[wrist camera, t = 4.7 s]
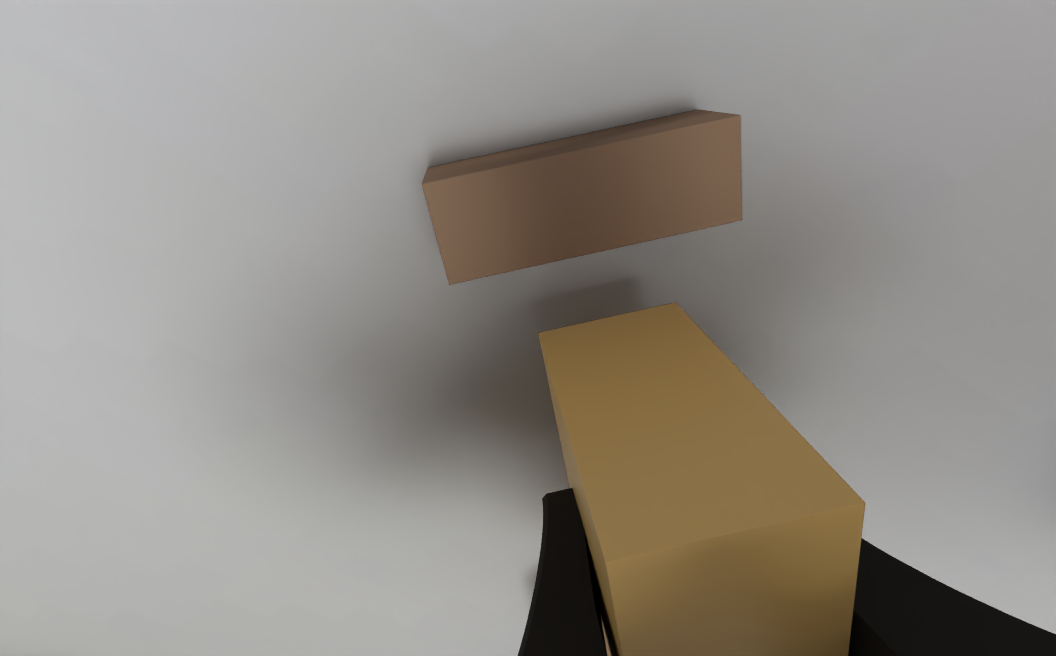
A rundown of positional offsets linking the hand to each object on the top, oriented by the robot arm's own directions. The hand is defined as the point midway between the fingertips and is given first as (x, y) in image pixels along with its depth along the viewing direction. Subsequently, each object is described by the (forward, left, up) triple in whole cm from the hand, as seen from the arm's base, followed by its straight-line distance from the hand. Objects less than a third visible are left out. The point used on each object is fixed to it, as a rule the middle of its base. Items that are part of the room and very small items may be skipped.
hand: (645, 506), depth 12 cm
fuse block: (0, 0, -2) cm, 2 cm away
